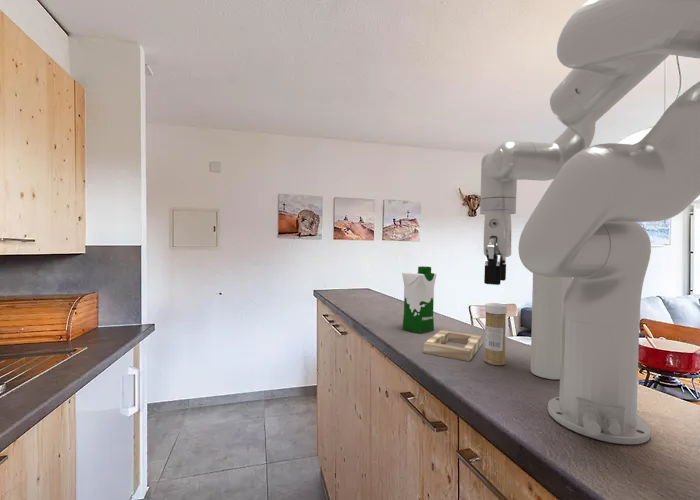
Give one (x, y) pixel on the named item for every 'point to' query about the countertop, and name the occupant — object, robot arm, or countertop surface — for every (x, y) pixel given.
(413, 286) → the milk carton
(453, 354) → the wooden frame
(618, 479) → the countertop surface
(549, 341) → the paper towel roll
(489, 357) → the sprinkles bottle
